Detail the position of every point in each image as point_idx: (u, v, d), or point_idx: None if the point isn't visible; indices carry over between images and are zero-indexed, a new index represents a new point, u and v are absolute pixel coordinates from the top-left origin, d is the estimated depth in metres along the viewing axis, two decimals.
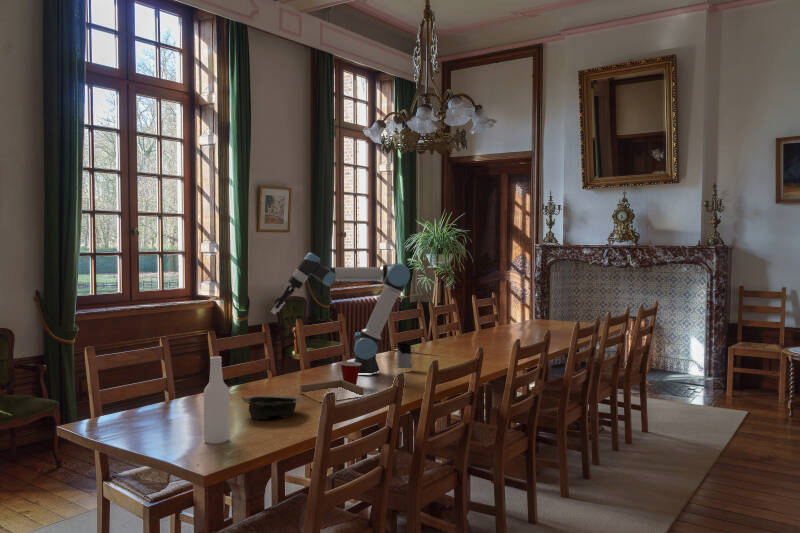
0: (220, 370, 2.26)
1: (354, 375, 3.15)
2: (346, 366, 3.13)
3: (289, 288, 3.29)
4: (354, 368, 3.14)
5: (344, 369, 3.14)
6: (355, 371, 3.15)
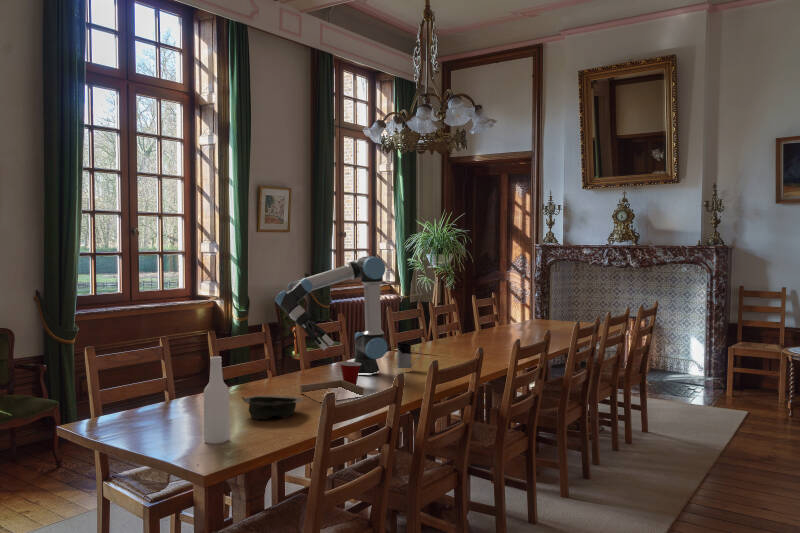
0: (220, 370, 2.26)
1: (354, 375, 3.15)
2: (346, 366, 3.13)
3: (303, 326, 3.14)
4: (354, 368, 3.14)
5: (344, 369, 3.14)
6: (355, 371, 3.15)
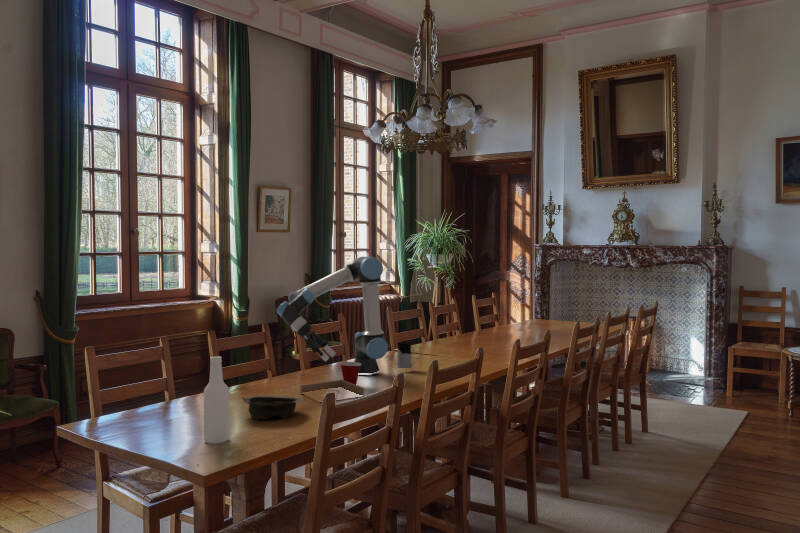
0: (220, 370, 2.26)
1: (354, 375, 3.15)
2: (346, 366, 3.13)
3: (305, 338, 3.13)
4: (354, 368, 3.14)
5: (344, 369, 3.14)
6: (355, 371, 3.15)
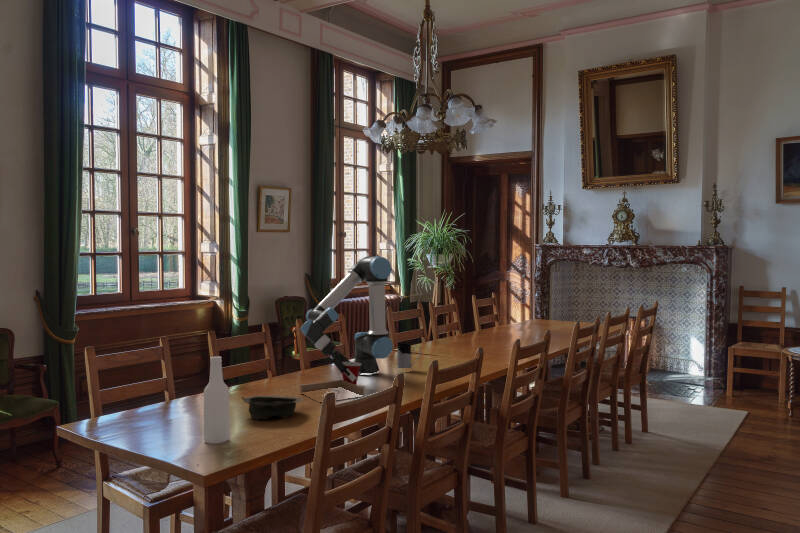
0: (220, 370, 2.26)
1: (354, 375, 3.15)
2: (346, 366, 3.13)
3: (331, 358, 3.12)
4: (354, 368, 3.14)
5: None
6: (355, 371, 3.15)
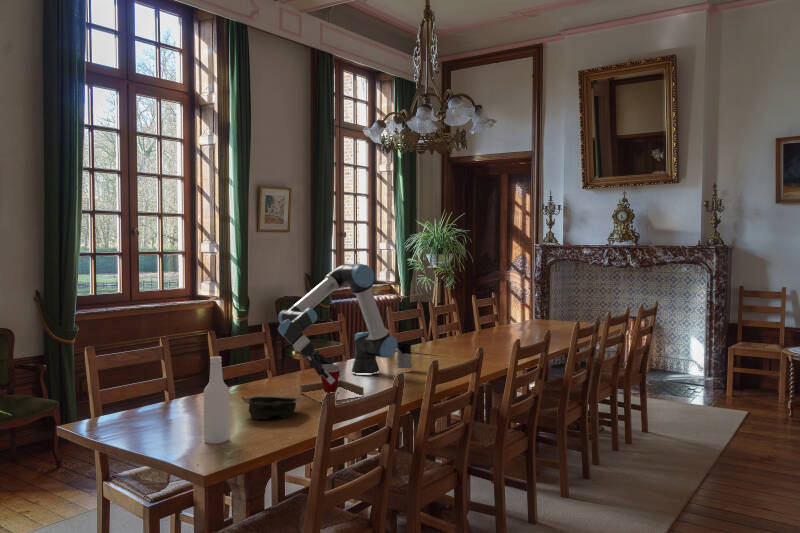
0: (220, 370, 2.26)
1: (334, 381, 2.96)
2: None
3: (309, 359, 2.92)
4: (333, 374, 2.95)
5: None
6: (334, 376, 2.96)
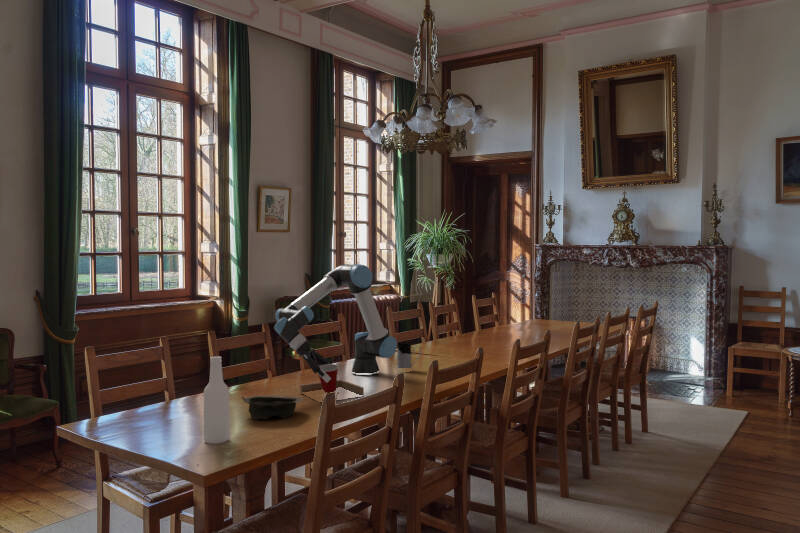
0: (220, 370, 2.26)
1: (332, 380, 2.96)
2: None
3: (305, 357, 2.92)
4: (331, 373, 2.95)
5: None
6: (333, 376, 2.96)
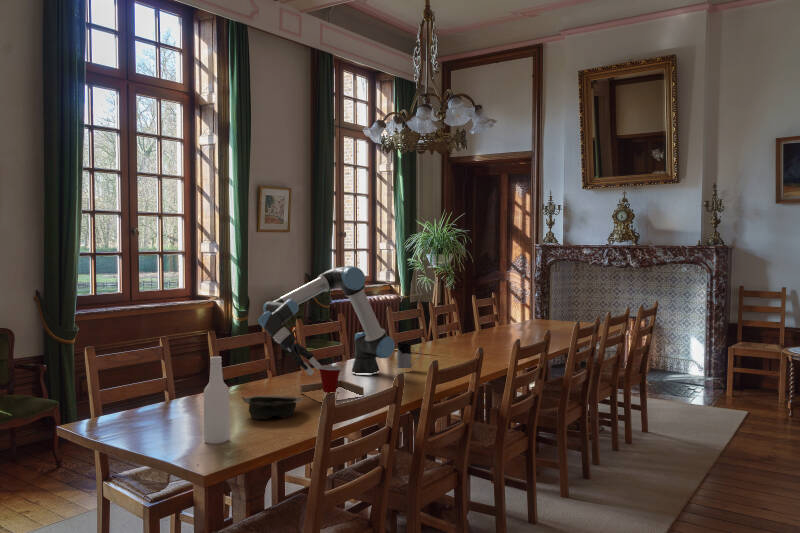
0: (220, 370, 2.26)
1: (334, 380, 2.98)
2: (325, 370, 2.96)
3: (288, 350, 2.93)
4: (333, 372, 2.97)
5: (323, 374, 2.97)
6: (335, 375, 2.98)
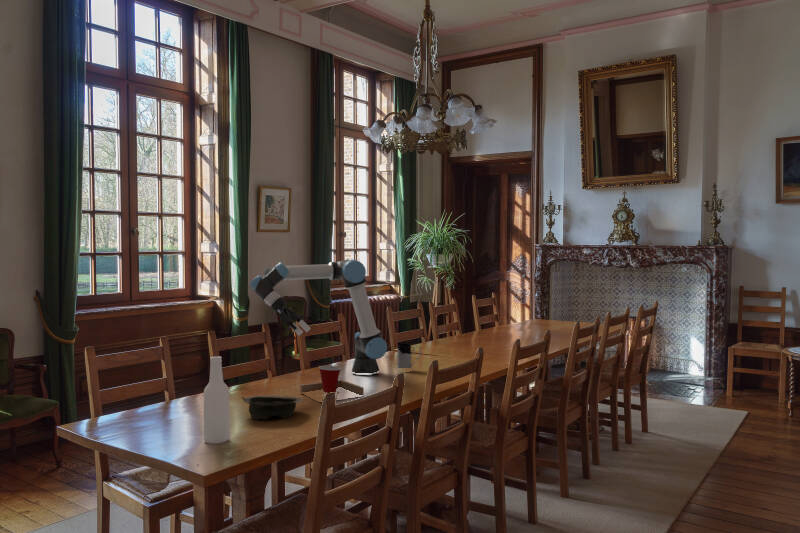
0: (220, 370, 2.26)
1: (334, 380, 2.98)
2: (325, 370, 2.96)
3: (278, 312, 3.09)
4: (333, 372, 2.97)
5: (323, 374, 2.97)
6: (335, 376, 2.98)
